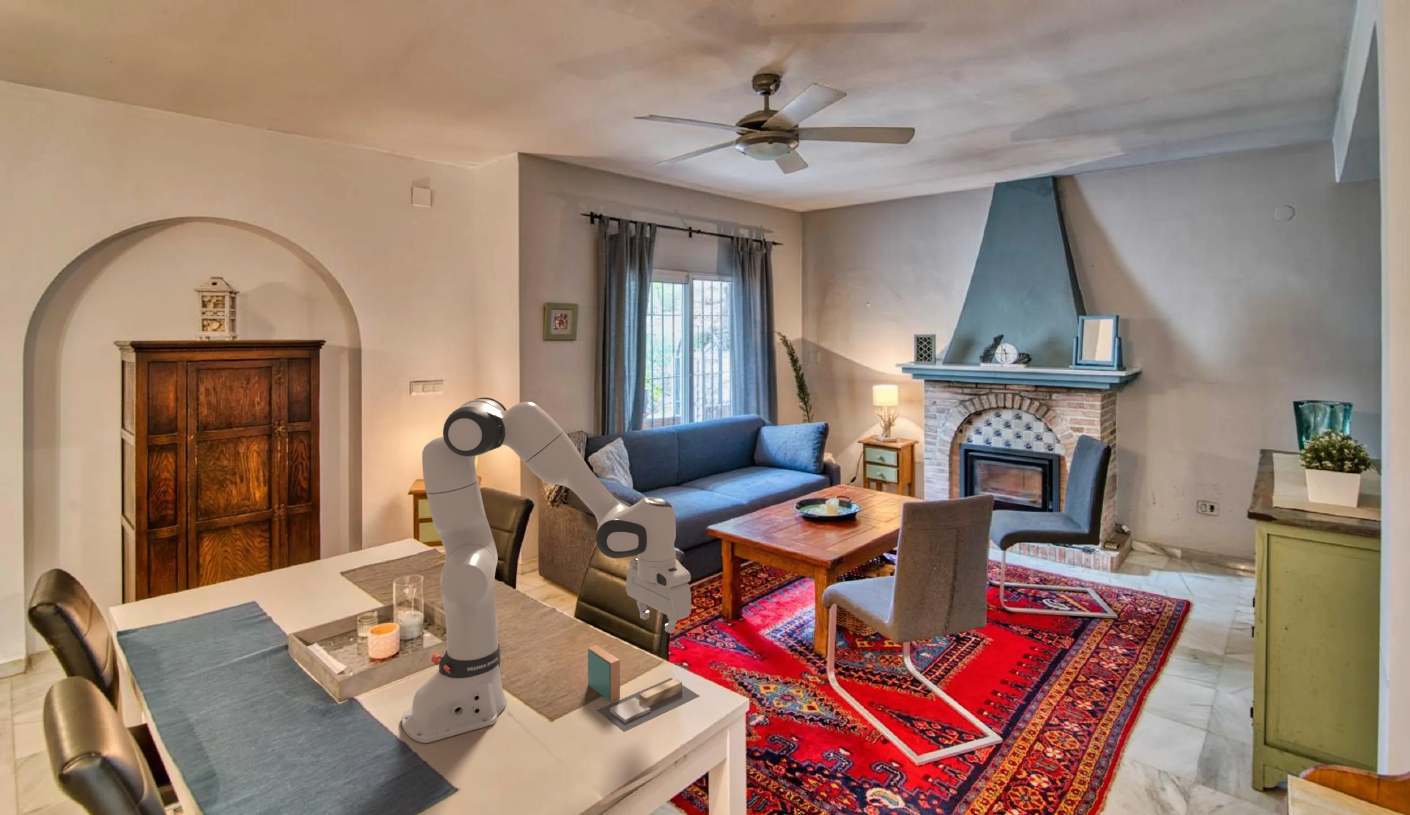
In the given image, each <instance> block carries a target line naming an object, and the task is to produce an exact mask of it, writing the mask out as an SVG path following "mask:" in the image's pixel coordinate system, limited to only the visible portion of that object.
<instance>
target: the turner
mask: <svg viewBox="0 0 1410 815" xmlns="http://www.w3.org/2000/svg"><path fill="white" fill-rule="evenodd" d="M672 679H673V680H671V681H668V682H666V683H664V684H661V685H659V686H657V687H654V688H652V689H650V690H648V691H645V692H643V693H641V694H639V700H638V699H636V698H635V697H634V698H632V699H630V700H628V701H625V702H623V703H621V704H618V705H616V706H614V707H612V708H610V712H611V713H613V714H614V715H615V716H617V717H618V718H619V719H620V720H622V721H623V722H624V723H626V722H628V721H631V720H633V719H635V718H637V717H639V716H641V715H644V714H646V713H648V712H650V708H649V706H651V705H654V704H656V703H658V702H660V701H662V700H665V699H667V698H669V697H671V696H673V695H676V694H678V693H680V692H682V685H683V682H682V681H681V680H680V679H678V678H672Z"/></svg>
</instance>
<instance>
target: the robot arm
mask: <svg viewBox="0 0 1410 815" xmlns="http://www.w3.org/2000/svg"><path fill="white" fill-rule="evenodd" d="M442 429H443V430H442V436H440V437H436V438H434V439H432V440H431V441H429V442H428V443H427V444H426V445H425V446H424V447H423V450H422V452H421V453H422V454H421V456H422V457H421V458H422V459H421V463H422V464H421V465H422V476H423V477H422V478H423V482H424V489H425V493H426V498H427V501H428V506H429V507H428V508H429V511H430V515H431V519H432V525H433V527H434V529H435V530H436V531H437V533H438V535H439V538H440V541H441V543H442V546H443V550H444V553H445V562H444V564H443V566H442V569H441V573H440V577H439V578H440V581H439V582H440V590H441V596H442V597H441V598H442V605H443V606H442V607H443V610H444V615H445V625H446V626H445V627H446V629H445V632H446V650H445V653H444V655H443V656H441V655H440V654H439V653H433V654H432V655H431V657H430V660H431V662H432V663H433V664H434V665H436V666H438V670H437V671H436V672H435V673H434V674H433V675H432V676H431V677H430V678H429V679H428V680H427V681H426V682H425V683H424V684H422V685H421V686H420V687H419V688H418V689H416V692H415V694H414V696H413V699H412V700H413V701H412V706H411V709H408V710H405V712H404V713H403V714H402V716H401V727H402V729H403V731H404V733H406V735H407V736H408V737H410V738H411V739H412V740H414V741H416V742H419V743H422V744H428V743H432V742H436V741H440V740H443V739H446V738H450V737H453V736H456V735H460V734H464V733H467V732H472V731H474V730H478V729H482V728H486V727H489V726H492V725H494V724H496V722H497V720H498V716H499V715H500V714H501V713H502V712H503V710H505V708H506V706H507V697H506V695H505V693H504V690H503V683H502V680H501V674H500V673H501V672H500V667H501V648H500V647H501V645H500V644H499V641H498V640H499V639H498V637H499V636H498V635H499V634H498V612H497V604H496V593H495V576H496V569H497V566H498V561H499V560H498V552H497V551H498V550H497V546H496V542H495V540H494V537H493V533H492V529H491V526H490V524H489V520H488V518H487V514H486V510H485V506H484V502H483V497H482V492H481V488H480V484H479V479H478V474H477V470H476V465H475V464H476V462H475V461H476V456H481V455H483V454H486V453H489V452H490V451H494V450H496V449H499V448H501V447H502V446H506V447H508V448H510V449H511V450H513V452H514V453H515V454H516V455H517V457H519V459H521V461H522V462H523V463H524V465H525V466H526V467H527V468H528V469H529V470H530V471H531V472H532V473H533V474H534V476H536V477H537V478H539V479H540V480H541V481H542V482H544V483H546V484H549V485H557V486H562V487H565V488H568V489H569V490H571V491H573V493H574V494H575V495H576V496H577V497H578V498H579V499H580V500H581V502H583V503H584V505H585V506H587V507H588V509H589V510H590V511H591V512H592V513H593V515H594V516H595V518H596V521H597V528H596V534H595V535H596V536H595V543H596V544H595V545H596V546H597V548H598V550H599V551H600V552H601V553H602V554H603V555H604V556H606V557H608V558H611V559H625V558H629V557H634V556H637V557H636V558H632V559H631V560H630V561H629V562H628V563H629V564H628V566H629V568H628V569H627V573H626V582H625V583H626V584H625V585H626V586H625V590H626V591H625V592H626V594H627V596H629V597H630V598H632V599H634V600H636V605H637V608H638V611H639V617H640V619H642V620H644V621H646V620H649V619H650V617H651V616H650V610H648V607H650V608H652V609H654V610H656V611H657V612H660V613H663V614H664V615H666V616H667V617H666V618H667V620H668V621H667V623H665V624H664V631H665V632H666V633H667V634H671V633H675V630H676V626H675V625H676V623H677V622H678V621H680V620H682V619H685V618H688V617H689V616H690V614H691V611H692V593H691V591H692V590H691V587H690V584H689V582H691V579H692V578H691V577H692V576H691V573H690V572H689V570H687V569H686V568H685V566H683V564H681V563H680V561H679V560H678V559H677V553H676V549H675V541H676V537H677V534H676V533H677V527H676V516H675V515H676V514H675V510H674V507H673V506H672V504H671V503H670V501H667V500H666V499H663V498H660V497H654V496H648V497H642V498H641V499H640V500H638V501H637V503H634V504H633V505H632V504H630V503H628V502H626V501H624V500H622V499H620V498H618V497H617V496H616V495H614V494H613V493H612V492H611V491H610V490H609V489H608V487H607V486H606V485H605V483H603V482H602V481H601V480H600V479H599V478H598V477H597V475H596V473H594V472H593V471H592V469H591V468H590V467H589V466H588V464H587V463H586V461H585V460H584V458H583V456H582V454H580V452H579V450H578V449H577V447H576V446H575V444H574V442H573V441H572V439H571V438H570V437H569V435H568V434H567V433H566V431H564V430H563V429H562V427H561V426H560V425H559V424H558V423H557V421H555V419H553V418H552V416H550V414H548V413H547V412H546V411H545V410H544V409H542V408H541V407H540V406H539V405H537V404H536V403H534V402H531V401H522V402H519V403H517V404H515V405H512V407H510V408H508V409H507V408H506V406H505V405H504V404H503V403H502V402H500V401H499V400H497V399H494V398H491V397H478V398H475V399H473V400H469V401H468V402H465V403H463V404H461V405H460V407H459V408H457V409H455V410H453V411H452V412H451V413H450V414H449V416H448V417H447V418H446V420H445V421H444V424H443V428H442Z"/></svg>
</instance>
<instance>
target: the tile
mask: <svg viewBox="0 0 1410 815" xmlns="http://www.w3.org/2000/svg"><path fill="white" fill-rule="evenodd" d="M620 661H621V660H620V659H619V658H618V657H616V656H615V655H613V654H611V653H610V652H608V651H607V650H605V649H604V648H602V647H600V646H599V645H597V644H595V645H592V646H590V647H587V674H588V675H587V686H588V687H590V688H592V689H593V690H594V691H595V692H596V693H598V694H600V695H601V696H602V697H604V699H606V700H608V701H611V702H613V701H614V700H617V699H620V698H621V670H620V668H621V662H620Z"/></svg>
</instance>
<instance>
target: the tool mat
mask: <svg viewBox="0 0 1410 815" xmlns="http://www.w3.org/2000/svg"><path fill="white" fill-rule="evenodd" d="M673 679H674V678H671V677H670V678H668V679H665V680H663V681H661V682H658V683H656V684H654V685H652V686H649V687H647V688H644V689H642V690H639V691H638V692H635V693H633V694H631V695H628V696H626V697H624V698H621V699H619V700H617V701H614V702H612V703H609V704H608V705H605V706H603V707H600V708H598V709H596V711H597V712H598V713H600V714H601V715H602V716H603V717H604V718H606V719H607V720H608V721H610V722H611V724H613V725H615V726H616V727H617V728H619V730H621V731H623V732H627V731H629V730H632V729H633V728H635V727H637V726H641V725H642V724H644V723H646V722H648V721H650V720H652V719H654V718H657V717H659V716H660V715H661V716H662V715H663V714H665V713H667V712H669V711H672V710H674V709H676V708H678V707H680V706H682V705H685V704H686V703H688V702H690V701H693V700H695V699H696V698H698V697H700V694H698V693H696V692H694V691H693V690H691V689H689V688H688V687H686V686H685V685H683V684H682V692H680V693H678V694H676V695H673V696H671V697H669V698H667V699H665V700H662V701H660V702H658V703H656V704H654V705H651V706H649V708H650V712H648V713H646V714H644V715H641V716H639V717H637V718H635V719H633V720H631V721H628V722H626V723H624V722H623V721H622V720H620V719H619V718H618V717H617V716H615V715H614V714H613V713H611V712H610V708H612V707H614V706H616V705H618V704H621V703H623V702H625V701H628V700H630V699H632V698H634V697H635V698H636V699H638V700H639V694H641V693H643V692H645V691H648V690H650V689H652V688H654V687H657V686H659V685H661V684H664V683H666V682H668V681H671V680H673Z"/></svg>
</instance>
